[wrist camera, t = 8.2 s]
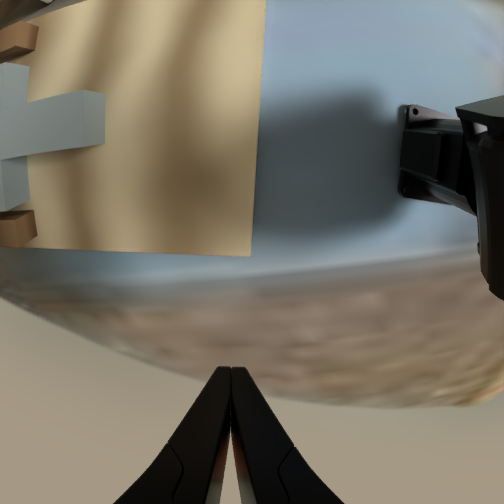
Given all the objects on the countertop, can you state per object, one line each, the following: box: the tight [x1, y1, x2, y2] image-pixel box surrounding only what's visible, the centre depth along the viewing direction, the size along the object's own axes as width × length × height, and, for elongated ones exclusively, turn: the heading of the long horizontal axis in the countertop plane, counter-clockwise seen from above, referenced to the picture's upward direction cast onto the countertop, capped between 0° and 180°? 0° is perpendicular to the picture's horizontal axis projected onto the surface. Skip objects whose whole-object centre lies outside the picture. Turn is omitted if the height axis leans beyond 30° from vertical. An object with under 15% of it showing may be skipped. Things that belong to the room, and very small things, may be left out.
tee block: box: [0, 62, 106, 212], centre depth 14 cm, size 10×10×3 cm
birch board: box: [0, 0, 266, 257], centre depth 15 cm, size 22×18×3 cm
